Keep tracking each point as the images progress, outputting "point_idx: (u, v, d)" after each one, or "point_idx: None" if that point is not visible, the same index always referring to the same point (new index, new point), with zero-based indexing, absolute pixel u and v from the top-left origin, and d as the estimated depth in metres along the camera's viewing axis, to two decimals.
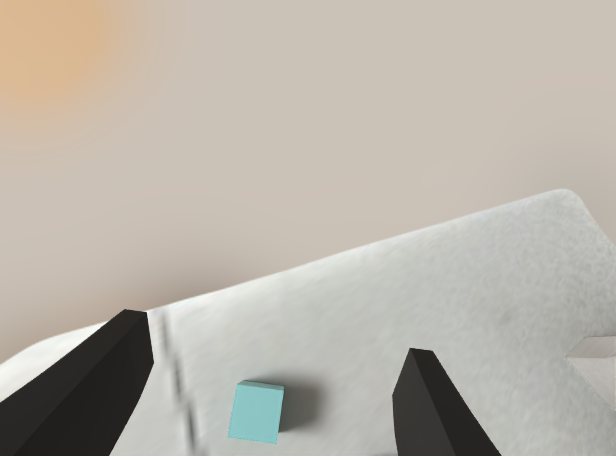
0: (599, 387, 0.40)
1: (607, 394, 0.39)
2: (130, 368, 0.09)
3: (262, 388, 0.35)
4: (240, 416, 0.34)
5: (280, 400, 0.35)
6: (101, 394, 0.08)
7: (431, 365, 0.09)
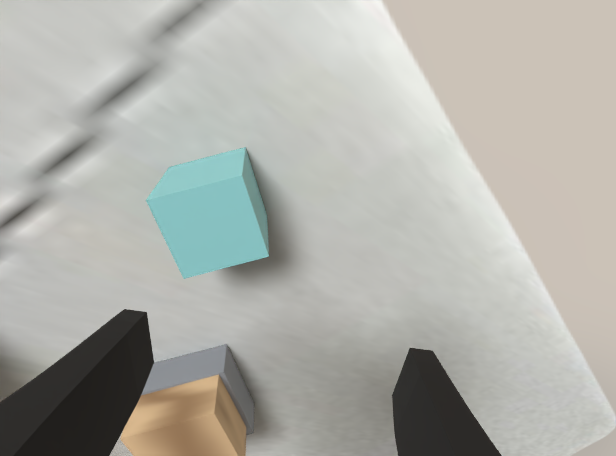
0: None
1: None
2: (130, 368, 0.09)
3: (256, 221, 0.18)
4: (191, 206, 0.17)
5: (251, 258, 0.19)
6: (101, 394, 0.08)
7: (431, 365, 0.09)
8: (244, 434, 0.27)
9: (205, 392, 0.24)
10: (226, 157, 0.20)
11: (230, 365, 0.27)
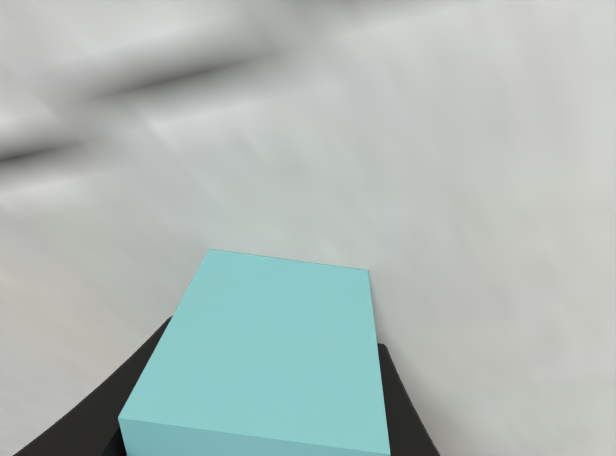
0: None
1: None
2: None
3: None
4: None
5: None
6: None
7: (379, 358, 0.09)
8: None
9: None
10: (331, 294, 0.09)
11: None
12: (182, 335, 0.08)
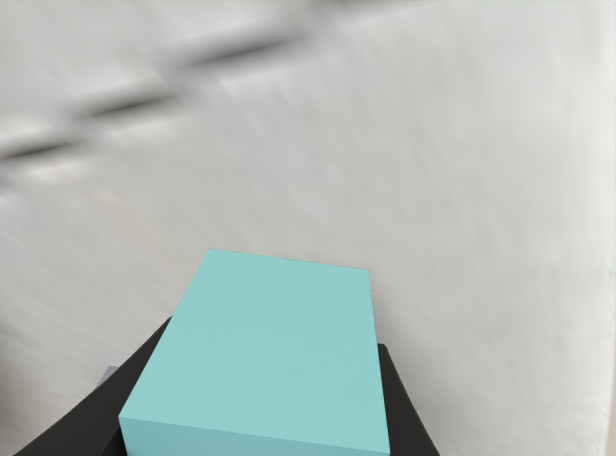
0: None
1: None
2: None
3: None
4: None
5: None
6: None
7: (379, 358, 0.09)
8: None
9: None
10: (331, 294, 0.09)
11: None
12: (182, 334, 0.08)
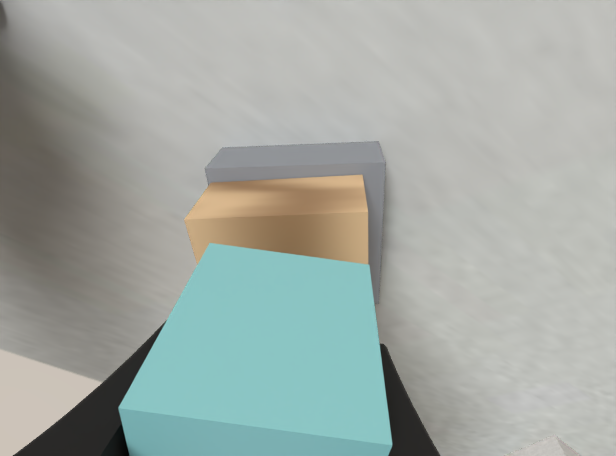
0: None
1: None
2: None
3: None
4: (228, 451, 0.06)
5: None
6: None
7: None
8: None
9: (342, 189, 0.13)
10: (332, 287, 0.09)
11: None
12: (183, 327, 0.08)
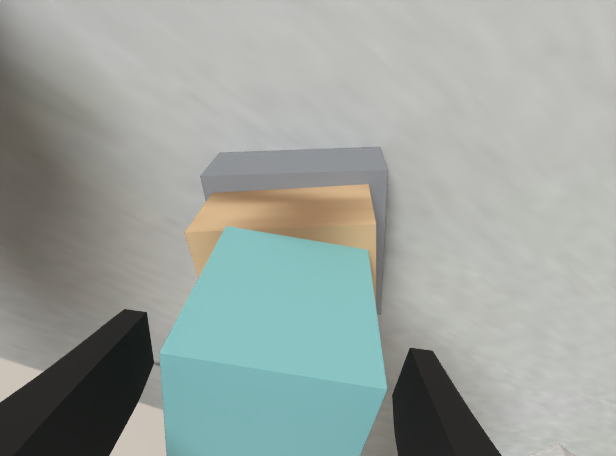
0: None
1: None
2: (130, 368, 0.09)
3: None
4: (248, 395, 0.08)
5: None
6: (101, 394, 0.08)
7: (431, 365, 0.09)
8: None
9: (348, 199, 0.13)
10: (335, 267, 0.10)
11: None
12: (208, 293, 0.09)
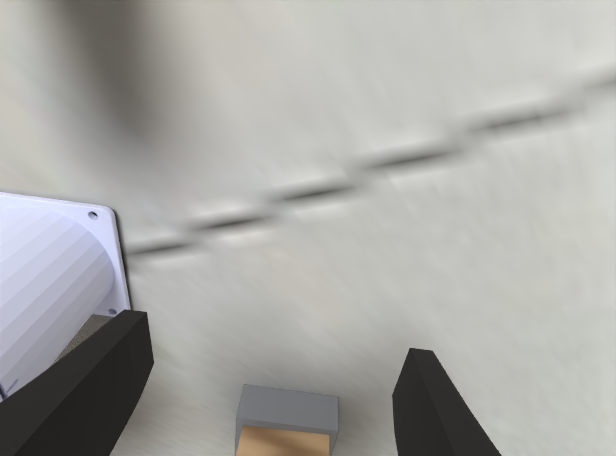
0: None
1: None
2: (130, 368, 0.09)
3: None
4: None
5: None
6: (101, 394, 0.08)
7: (431, 365, 0.09)
8: None
9: (317, 451, 0.24)
10: None
11: None
12: None
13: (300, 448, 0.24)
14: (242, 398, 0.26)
